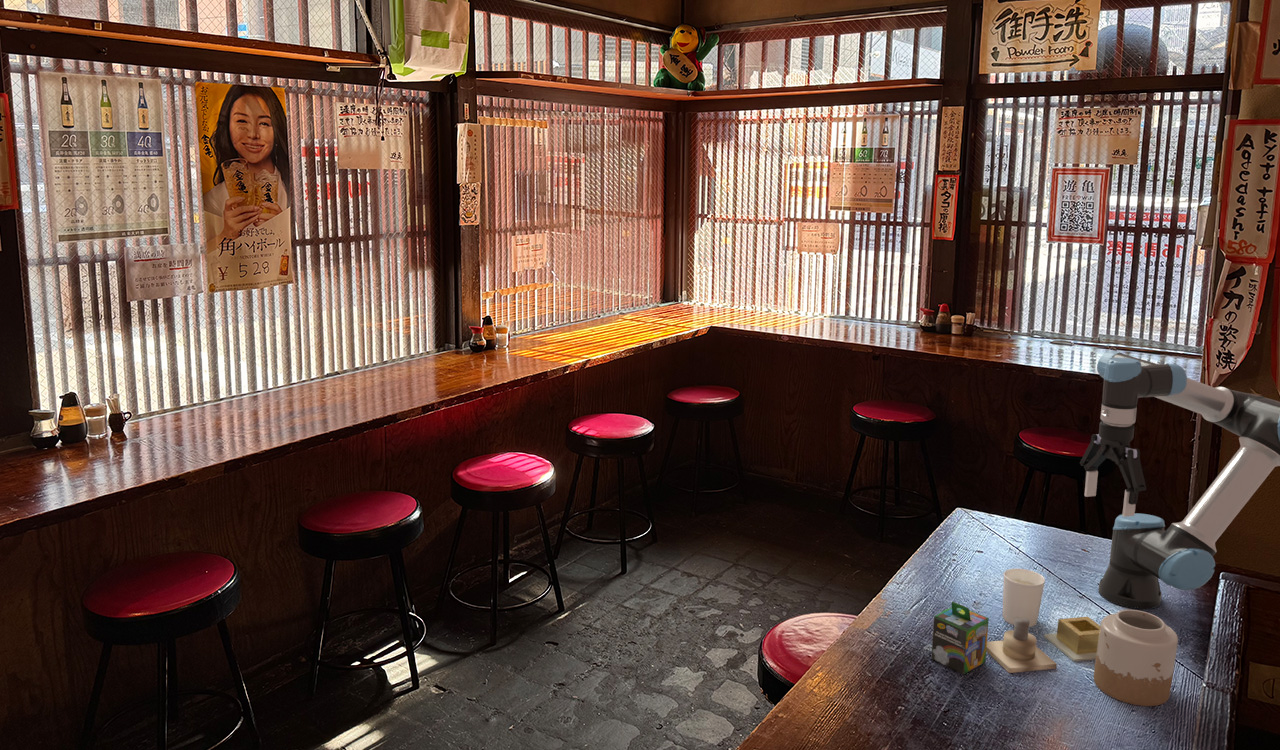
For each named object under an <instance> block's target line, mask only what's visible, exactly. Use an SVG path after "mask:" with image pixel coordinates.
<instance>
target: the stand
mask: <svg viewBox="0 0 1280 750" xmlns="http://www.w3.org/2000/svg"><path fill="white" fill-rule="evenodd" d="M1029 630H1030V627H1029V621H1028V620H1027V619H1025V618H1016V619H1015V623H1014V625H1013V629H1010V630H1006V631H1005V632H1004V633H1003V639H1002V640H994V641H987V648H986V653H987V654H989V655H990V657H992V659H994V661H996V662H997V663H998V664H999V665H1000V666H1001V667H1003V669H1004V670H1005V671H1006V672H1008V674H1012V673H1022V672H1034V671H1035V672H1036V671H1042V670H1043V671H1044V670H1045V671H1046V670H1050V669H1051V670H1053V669H1055V670H1056V669H1057V664H1058V663H1056V661H1054V660H1053V659H1052V658H1051V657H1049V656H1048V655H1047V654H1046V653H1045V652H1044V651H1043V650H1041V649H1040V648H1039V647H1038V646H1037V642H1038V641H1037V638H1036V636H1035V635H1033V634H1031V633H1029Z"/></svg>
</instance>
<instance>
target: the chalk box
mask: <svg viewBox="0 0 1280 750" xmlns="http://www.w3.org/2000/svg"><path fill="white" fill-rule="evenodd" d="M950 603H951V604H950V605H951V607H949V608H945V609H944V610H942V611H941V612H939V613H938V614H935V615H934V616H933V629H932V642H931V643H932V644H931V645H932V646H931V660H933V661H936V662H937V663H939V664H941V665H943V666H945V667H948V668H949V669H951V670H953V671H955V672H957V673H959V674H961V675H965V674H967V673H968V672H971V671H973V670H974V669H976V668H977V667H979V666H981V665H983V664H984V663H986V658H987V652H986V648H987V642H988V632H989V619H990V618H989V617H987V616H985V615H983V614H980V613H978V612H975V611H972V610H970V608H969V607H967V606H964V605H963V604H960V603H957V602H955V601H951V602H950Z"/></svg>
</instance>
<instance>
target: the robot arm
mask: <svg viewBox="0 0 1280 750" xmlns="http://www.w3.org/2000/svg"><path fill="white" fill-rule="evenodd" d="M1096 370H1097V373H1098V375H1099V377H1101V378H1102V379H1103V385H1102V400H1101V407H1100V408H1101V409H1100V410H1101V411H1100V417H1099V418H1100V422H1099V428H1098V434H1097V433H1096V434H1092V435H1091V436H1090V437H1091V438H1090V443H1089V444H1088V447H1087V448H1086V450H1085V452H1084V453H1083V455H1082V458H1081V459H1080V461H1079V464H1080V466H1082V467H1083V468H1084V470H1085V475H1084V482H1085V483H1084V484H1085V485H1084V486H1085V487H1084V497H1085V498H1086V497H1087V498H1088V497H1090V498H1091V497H1096V495H1097V489H1098V487H1097V486H1098V477H1099V471H1098V470H1097V469H1098V468H1099V467H1100V465H1102V463H1103V462H1104V461H1106V459H1109V460H1110V461H1112V462H1114V463H1115V465H1116V466H1118V468H1119V471H1120V473H1121V475H1122V478H1123V480H1124V483H1125V485H1126V487H1127V489H1125V490H1124V498H1123V505H1122V506H1123V508H1122V513H1121V514H1119V515H1118V516H1116V518H1115V520H1114V525H1113V527H1112V536H1111V547H1110V554H1109V562H1108V566H1107V568H1106V570H1105V571H1104V574H1103V576H1102V578H1101V579H1100V580H1099V583H1098V590H1097V591H1098V593H1099V595H1100V596H1101V597H1102V598H1104V599H1105V600H1106V601H1109V602H1110V603H1113V604H1115V605H1117V606H1118V605H1119V606H1122V607H1127V608H1130V609H1135V610H1148V609H1155V608H1157V607H1159V606H1160V605H1161V604H1162V595H1163V594H1162V591H1161V586H1160V585H1161V584H1160V581H1159V580H1161V581H1162V582H1163V583H1164V584H1166V585H1168V586H1171V587H1173V588H1175V589H1177V590H1180V591H1192V590H1196V589H1199V588H1201V587H1202V586H1204V585H1206V584H1207V583H1208V582H1209V580H1211V578H1212V577H1213V575H1214V573H1215V567H1216V561H1215V558H1214V556H1215V555H1216V553H1217V551H1218V550H1217V548H1216V542H1217V540H1219V539H1220V537H1221V536H1222V534H1223V533H1224V532H1225V531H1226V529H1227V528H1229V527H1228V526H1229V525H1230V524H1231V523H1232V522H1233V520H1235V518H1236V516H1237V515H1238V514H1239V513H1240V512H1241V510H1243V508H1244V507H1245V505H1246V504H1247V503H1248V502H1249V501H1250V499H1251V498H1252V497H1253V495H1254V494H1255V493H1256V491H1258V489H1259V487H1260V486H1261V485H1262V484H1263V483H1264V482H1265V480H1266V479H1267V477H1269V475H1270V473H1271V472H1272V471H1273V470H1274V469H1275V467H1280V401H1278V400H1275V399H1272V398H1268V397H1265V396H1263V395H1258V394H1253V393H1248V392H1242V391H1238V390H1232V389H1230V388H1227V387H1224V386H1216V387H1214V386H1211V385H1208V384H1205V383H1203V382H1200V381H1197V380H1195V379H1192V378H1190V377H1188V376H1187V375H1188V374H1187V373H1186V370H1185V369H1184V367H1182V366H1181V365H1179V364H1176V363H1174V364H1173V363H1163V364H1160V363H1159V364H1158V363H1156V362H1152V361H1149V360H1145V359H1142V358H1138V357H1135V356H1132V355H1129V354H1124V353H1123V352H1121V351H1119V352H1118V351H1108V352H1107V351H1106V352H1105V353H1103V354H1102V355H1101V356H1099V359H1098V361H1097V364H1096ZM1153 397H1154V398H1157V399H1159V400H1161V401H1163V402H1167V403H1169V404H1170V403H1171V404H1172V405H1175V406H1178V407H1180V408H1183V409H1187V410H1189V411H1191V412H1193V413H1196V414H1200V415H1201V417H1202V418H1203V419H1204V420H1206V421H1207V422H1210V423H1213V424H1215V425H1217V426H1219V427H1222V428H1223V429H1225V430H1227V431H1228V432H1231V433H1232V434H1235V435H1236V436H1239V437H1238V440H1239V445H1240V446H1239V449H1237V451H1236V452H1235V453H1234V455H1233V456H1232V457H1231V459H1230V460H1229V461H1228V462H1227V463H1226V465H1225V466H1224V467H1223V469H1222V470H1221V471H1220V472H1219V474H1218V475H1217V476H1216V477H1215V479H1214V480H1213V481H1212V483H1211V484H1210V485H1209V487H1208V488H1207V489H1206V490H1205V491H1204V493H1203V494H1202V495H1201V497H1200V498H1199V499H1198V500H1197V502H1196V503H1195V505H1194V506H1193V507H1192V508H1191V510H1189V512H1188V514H1187V515H1186V516H1185V517H1184V519H1183V520H1181V521H1179V522H1172V523H1171V524H1170V525H1169V527H1168V528H1167V529H1165V527H1166V525H1165V520H1164V519H1163V518H1161V517H1160V516H1157V515H1153V514H1152V515H1151V514H1146V513H1135V512H1136V505H1137V504H1138V501H1139V492H1145V491H1147V485H1146V480H1145V477H1144V472H1143V467H1142V463H1141V450H1140V449H1139V448H1131V446H1130V442H1131V441H1133V439H1134V436H1135V423H1136V419H1137V411H1138V410H1137V406H1138V401H1139V398H1141V399H1142V398H1153ZM1160 603H1161V604H1160Z"/></svg>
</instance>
